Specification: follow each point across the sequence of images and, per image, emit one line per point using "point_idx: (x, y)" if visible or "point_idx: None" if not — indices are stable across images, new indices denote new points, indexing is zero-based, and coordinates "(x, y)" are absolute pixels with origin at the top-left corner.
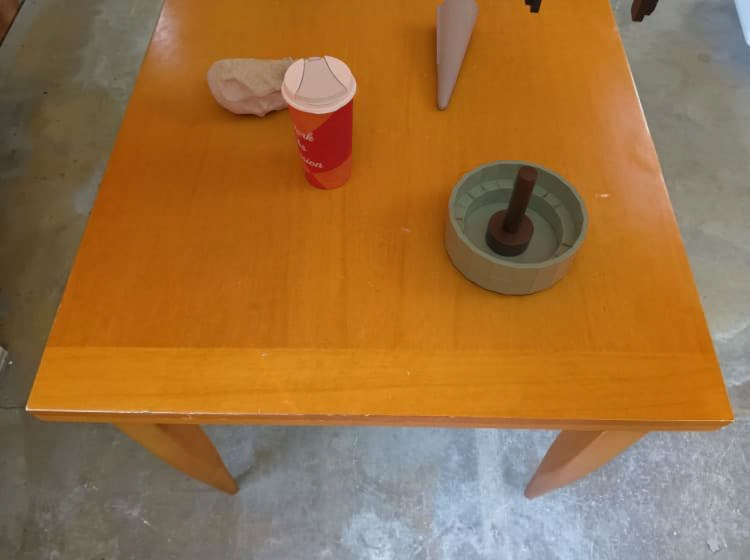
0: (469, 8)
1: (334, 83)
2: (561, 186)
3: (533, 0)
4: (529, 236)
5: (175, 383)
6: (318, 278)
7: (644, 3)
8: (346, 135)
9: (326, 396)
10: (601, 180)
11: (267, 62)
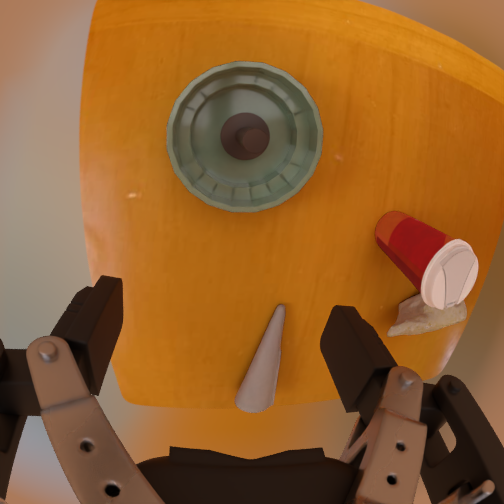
0: (246, 402)
1: (448, 272)
2: (186, 176)
3: (363, 321)
4: (227, 122)
5: (477, 66)
6: (410, 118)
7: (98, 300)
8: (411, 239)
9: (403, 23)
10: (132, 215)
11: (436, 324)
